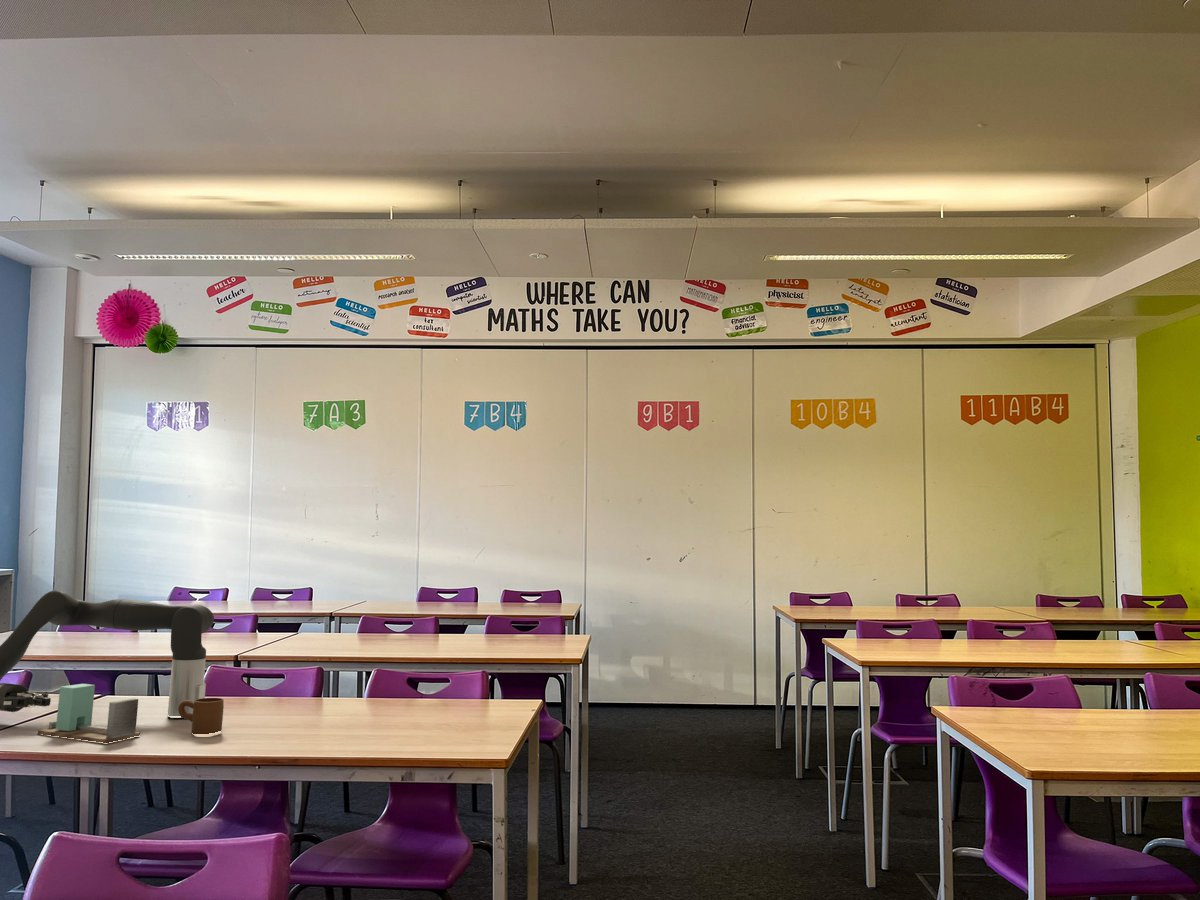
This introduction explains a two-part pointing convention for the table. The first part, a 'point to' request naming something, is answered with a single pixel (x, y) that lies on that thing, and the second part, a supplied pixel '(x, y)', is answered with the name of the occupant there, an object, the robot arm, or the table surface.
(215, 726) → the mug
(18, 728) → the table surface
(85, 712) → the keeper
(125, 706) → the rail
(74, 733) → the board
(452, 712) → the table surface
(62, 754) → the table surface
